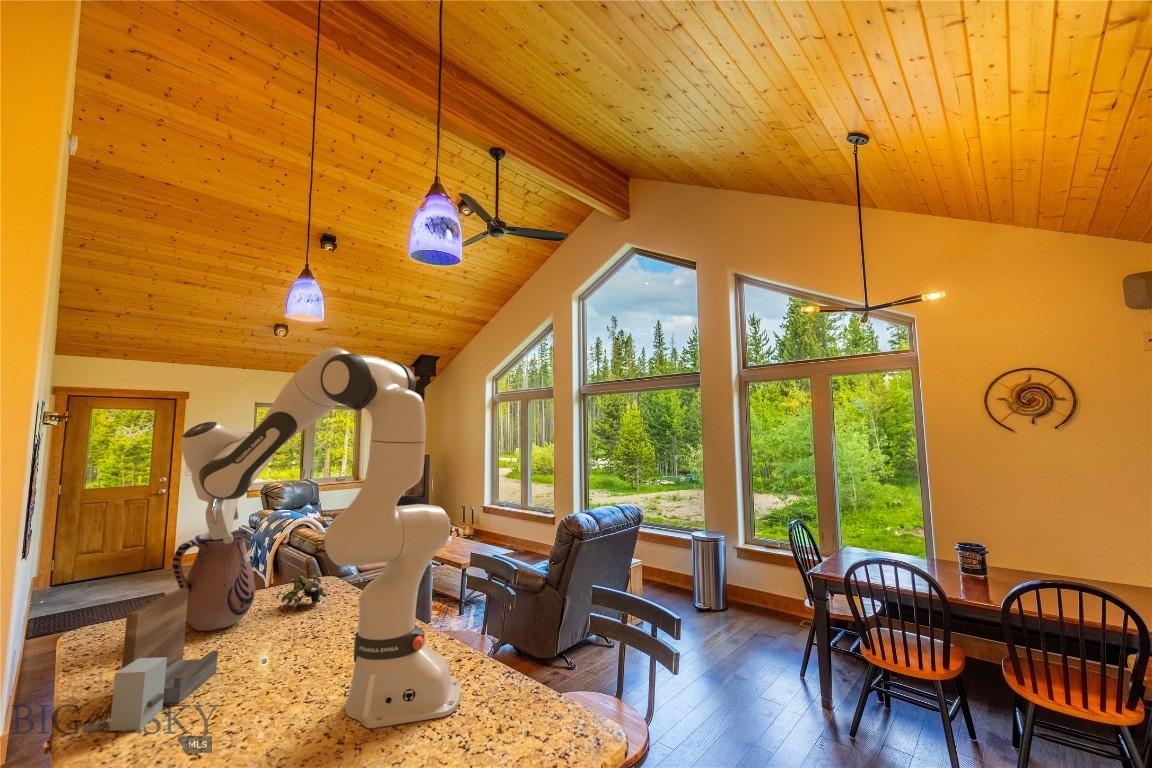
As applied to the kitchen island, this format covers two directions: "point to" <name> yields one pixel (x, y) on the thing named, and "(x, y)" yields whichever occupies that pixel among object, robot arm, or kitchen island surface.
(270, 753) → the kitchen island surface
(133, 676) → the grey box with notch
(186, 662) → the wall board
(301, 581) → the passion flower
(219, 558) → the ceramic pitcher
